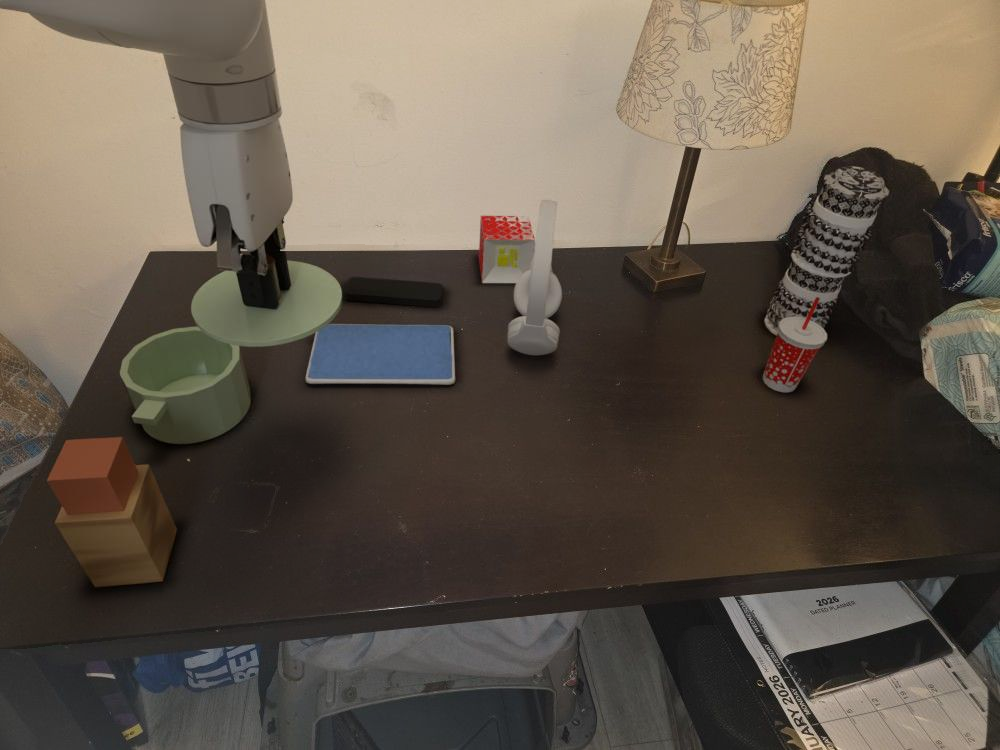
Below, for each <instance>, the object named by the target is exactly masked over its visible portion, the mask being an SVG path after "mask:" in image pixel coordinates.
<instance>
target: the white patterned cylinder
mask: <svg viewBox="0 0 1000 750" xmlns="http://www.w3.org/2000/svg"><path fill="white" fill-rule="evenodd" d="M823 180H824V183H823V186H822V188H821V190H820V193H819V195H817V196H816V199H814V200H813V201H810V202H808V206H807V207H806V209H805V212H804V216H803V217H802V219H801V220H802V222H804V223H803V224H802V225H800V227H799V230H798V231H797V236H796V239H795V240H794V245H795V246H794V247H793V248H792V249H793V250H792V252H791V254H790V257H791V259H792V260H791V262H790V265H789V267H788V268H787V270H786V272H785V274H784V276H783V278H781V279H780V281H779V282H778V284H777V288H776V291H774V296H773V298H772V299H771V301H770V303H769V306H768V308H767V311H766V316H765V317H764V320H763V321H764V326H765V327H766V329H768V331H769V332H770V333H771V334H772V335H774V336H777V334H778V332H777V329H778V326H779V322H780V321H781V320H782V319H784V318H787V317H801V318H805V319H806V318H807V316H808V314H809V312H810V309H811V307H812V305H813V303H814V301H815V299H816V297H818V298H820V300H819V302H818V304H817V306H816V308H815V310H814V312H813V315H812V317H811V319H810V320H811V321H813V322H815V323H817V324H818V325H820V326H821V327H822V328H823V329H824V328H825V327H826V325H827V324H828V321H829V319H830V316H829V315H832V313H833V310H834V308H835V307H834V306H836V305H837V302H838V301H839V297H838V295H839V293H840V291H841V289H842V283H843V282H844V280H845V277H847V276H849V275H850V274H851V273H853V272H854V269H855V264H856V263H858V262H859V261H860V255H859V254H858V253H860V252H861V251H865V250H866V249H867V241H871V240H872V235H873V233H872V232H871V231H870V229H869V227H871V226H873V223H874V222H875V221H876V220H877V215H878V210H879V208H880V206H881V204H882V201H883V199H884V198H887V197H888V196H889V194H890V190H889V189H888V188H887V187H886V183H885V180H884V178H883V177H882V175H880V174H878V173H877V172H876V171H873V170H871V169H868V168H864V167H861V166H853V165H851V166H848V165H847V166H843V167H839V168H838V169H836V170H834V172H830V173H828V174H825V175H824V178H823ZM809 219H810V220H809Z"/></svg>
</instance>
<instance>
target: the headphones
mask: <svg viewBox="0 0 1000 750" xmlns="http://www.w3.org/2000/svg"><path fill="white" fill-rule="evenodd" d="M557 208H558V201H556V200H552V199H541V200H540V203H539V210H538V217H537V219H538V221H537V226H536V235H535V248H534V255H533V259H532V260H531V263H530V265H529V267H528V269H527V271H526V272H524V273H523V274H522V276H521V277H520V278H519V280H518V281H517V283H515V285H514V289H513V302H514V303H513V304H514V306H515V307H516V310H517V311H518V312H519V314H520V315H522V316H518V317H516V318H514V319H512V320H511V321H509V323H508V325H507V334H506V335H507V339H506V343H507V345H508V346H509V347H510V348H511V349H512V350H514V351H516V352H518V353H520V354H522V355H527V356H545V355H548V354H551V353H553V352H555V351H556V350H557V348H558V344H559V337H560V334H561V330H560V328H559V325H557V324H556V323H555V322H554V321H553V320H551V319H549V318H550V317H552V316H553V315H554V314H556V312H557V311H558V310H559V307H560V306H561V303H562V299H563V289H562V286H561V283H560V280H559V279H558V276H557V275H556V274H555V273H554V271H553V266H552V263H553V248H554V239H555V230H556V229H555V228H556V219H557V210H558V209H557Z"/></svg>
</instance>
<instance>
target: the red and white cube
mask: <svg viewBox="0 0 1000 750" xmlns="http://www.w3.org/2000/svg"><path fill="white" fill-rule="evenodd" d="M535 242H536V237H535V234H534V231H533V227H532V223H531V220H530V216H527V215H525V216H524V215H480V224H479V243H478V244H479V246H478V262H479V263H478V264H479V270H480V278H481V283H482V284H516V283H517V281H518V280H519V278H520V277H521V276H522V274H523V273H524V272H526V271H527V269H528V267H529V265H530V263H531V260H532V259H533V255H534V250H535Z"/></svg>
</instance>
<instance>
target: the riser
mask: <svg viewBox="0 0 1000 750" xmlns="http://www.w3.org/2000/svg"><path fill="white" fill-rule="evenodd" d="M135 466H136V468H137V470H138V472H137V475H136V478H135V481H134V484H133V486H132V489H131V492H130V495H129V498H128V501H127V503H126V506H125V509H124V511H112V512H98V513H84V514H70V515H67V513H66V512H65V510H64V508H63V507H62V506H61V508H60V510H59V512H58V514H57V516H56V519H55V521H54V524H55V526H56V528H57V529H58V531H59V533H60V534H61V536H62V537H63V539H64V541H66V544H67V545H68V547H69V548H70V550H71V551H72V553H73V555H74V557H75V558H76V559H77V561H78V562H79V564H80V566H81V567H82V569H83V570H84V572H85V574H86V576H87V577H88V578H89V580H90V582H91V583H92V585H93V586H94V588H102V587H103V588H104V587H115V586H127V585H128V586H129V585H137V584H138V585H139V584H148V583H149V584H150V583H161V582H163V581H164V578H165V576H166V575H165V574H166V571H167V567H168V563H169V560H170V557H171V553H172V549H173V546H174V542H175V538H176V535H177V531H178V529H177V526H176V524H175V521H174V519H173V516H172V514H171V511H170V510H169V508H168V505H167V503H166V501H165V499H164V495H163V494H162V491H161V489H160V487H159V485H158V482H157V480H156V477H155V475H154V472H153V470H152V468H151V465H150V464H137V465H136V464H135Z"/></svg>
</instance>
